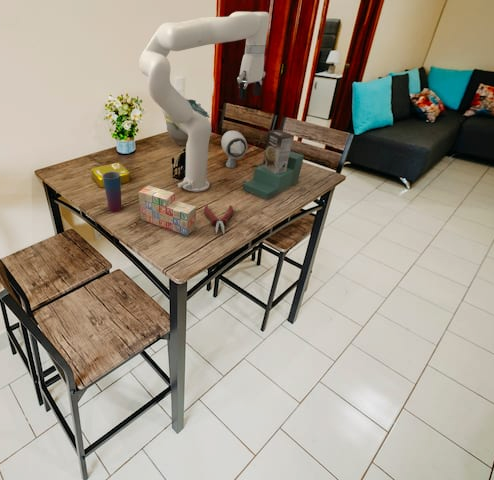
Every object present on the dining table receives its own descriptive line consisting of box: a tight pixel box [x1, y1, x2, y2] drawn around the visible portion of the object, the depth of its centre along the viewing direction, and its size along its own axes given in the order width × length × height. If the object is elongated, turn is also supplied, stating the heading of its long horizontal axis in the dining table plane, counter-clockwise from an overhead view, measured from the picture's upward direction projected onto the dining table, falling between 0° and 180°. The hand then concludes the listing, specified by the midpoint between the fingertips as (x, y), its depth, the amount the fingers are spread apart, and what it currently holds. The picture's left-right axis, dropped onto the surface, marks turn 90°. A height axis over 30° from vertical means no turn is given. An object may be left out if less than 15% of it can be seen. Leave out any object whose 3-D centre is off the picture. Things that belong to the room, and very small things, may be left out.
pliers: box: [203, 204, 234, 236], centre depth 128 cm, size 12×20×3 cm, turn 175°
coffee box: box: [262, 129, 294, 174], centre depth 144 cm, size 9×6×16 cm
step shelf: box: [241, 150, 305, 201], centre depth 150 cm, size 25×13×13 cm, turn 132°
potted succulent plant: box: [163, 98, 211, 146], centre depth 193 cm, size 25×25×24 cm
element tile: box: [91, 162, 131, 188], centre depth 160 cm, size 15×15×5 cm
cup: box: [103, 171, 123, 213], centre depth 134 cm, size 7×7×15 cm
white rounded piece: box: [220, 130, 249, 169], centre depth 165 cm, size 15×20×18 cm
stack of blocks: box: [138, 185, 197, 236], centre depth 125 cm, size 21×6×12 cm, turn 56°
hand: (249, 97), depth 140 cm, fingers open, 9 cm apart
